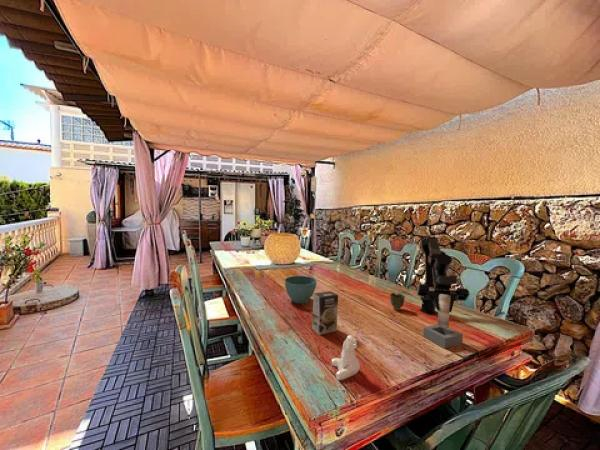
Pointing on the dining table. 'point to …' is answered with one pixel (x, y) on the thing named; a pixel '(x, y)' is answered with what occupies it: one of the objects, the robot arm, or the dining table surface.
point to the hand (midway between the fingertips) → (444, 311)
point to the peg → (443, 311)
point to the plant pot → (300, 288)
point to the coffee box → (325, 312)
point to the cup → (397, 300)
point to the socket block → (443, 336)
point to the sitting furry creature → (347, 360)
